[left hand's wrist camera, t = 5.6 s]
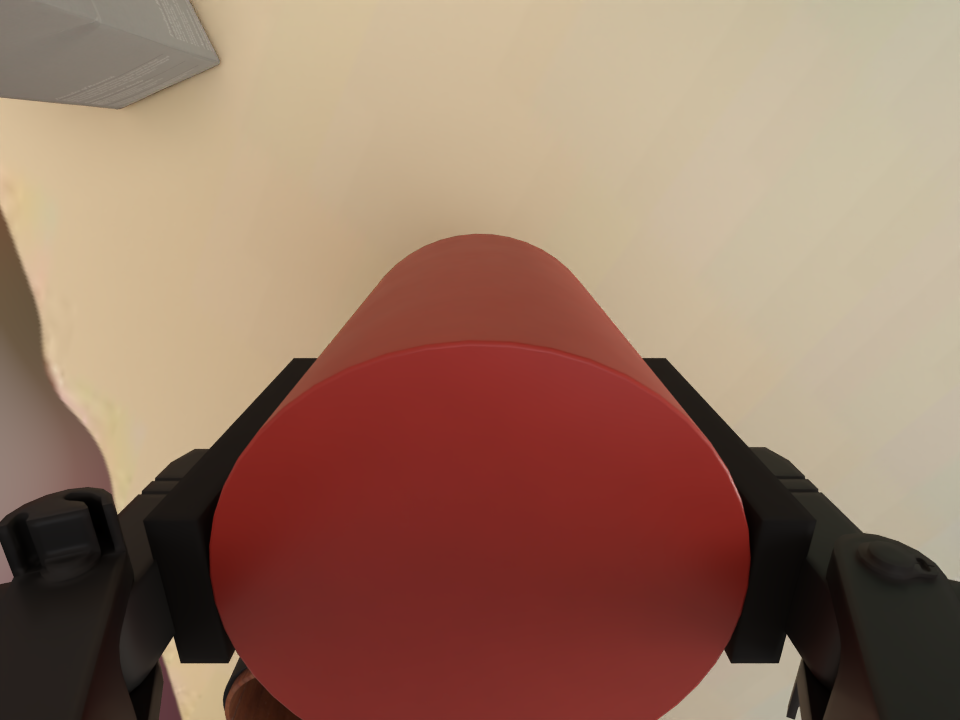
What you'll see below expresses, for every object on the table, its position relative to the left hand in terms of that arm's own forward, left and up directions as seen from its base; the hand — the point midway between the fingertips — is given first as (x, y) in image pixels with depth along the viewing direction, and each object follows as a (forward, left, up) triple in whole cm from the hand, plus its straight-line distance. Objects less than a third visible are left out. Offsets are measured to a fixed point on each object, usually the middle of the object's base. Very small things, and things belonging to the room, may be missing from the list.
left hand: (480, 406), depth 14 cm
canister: (0, 0, -4) cm, 4 cm away
